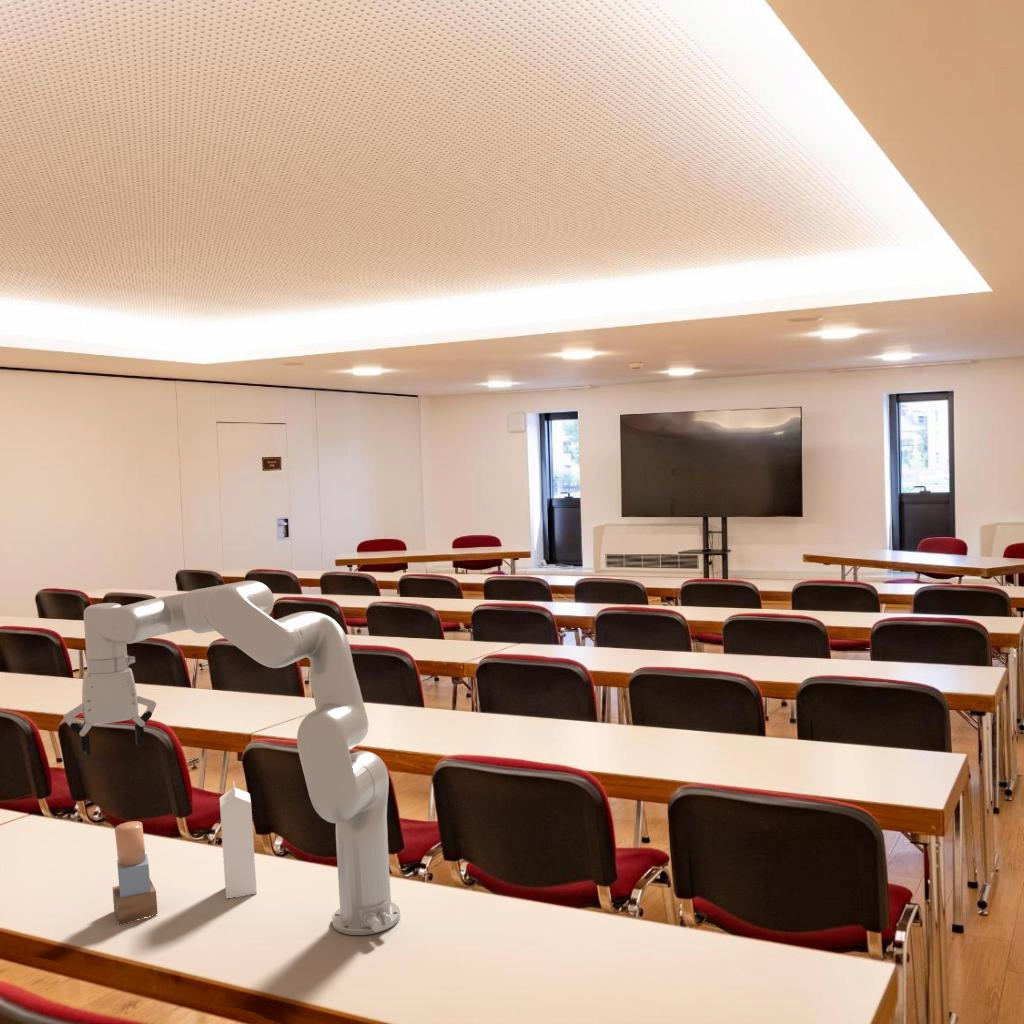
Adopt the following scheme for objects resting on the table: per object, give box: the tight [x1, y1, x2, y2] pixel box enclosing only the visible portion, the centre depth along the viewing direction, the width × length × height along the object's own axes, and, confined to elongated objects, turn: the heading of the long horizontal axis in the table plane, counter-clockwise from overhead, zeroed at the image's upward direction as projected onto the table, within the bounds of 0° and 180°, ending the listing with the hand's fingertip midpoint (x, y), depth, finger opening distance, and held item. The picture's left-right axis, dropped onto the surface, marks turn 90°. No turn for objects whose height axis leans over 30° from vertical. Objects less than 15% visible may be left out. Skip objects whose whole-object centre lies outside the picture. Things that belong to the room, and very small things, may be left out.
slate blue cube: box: [116, 853, 151, 898], centre depth 194 cm, size 6×6×6 cm
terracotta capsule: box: [114, 820, 146, 867], centre depth 194 cm, size 5×5×7 cm
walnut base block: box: [112, 879, 158, 926], centre depth 194 cm, size 7×7×5 cm
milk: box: [219, 780, 258, 900], centre depth 202 cm, size 6×6×22 cm
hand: (113, 749), depth 200 cm, fingers open, 9 cm apart
